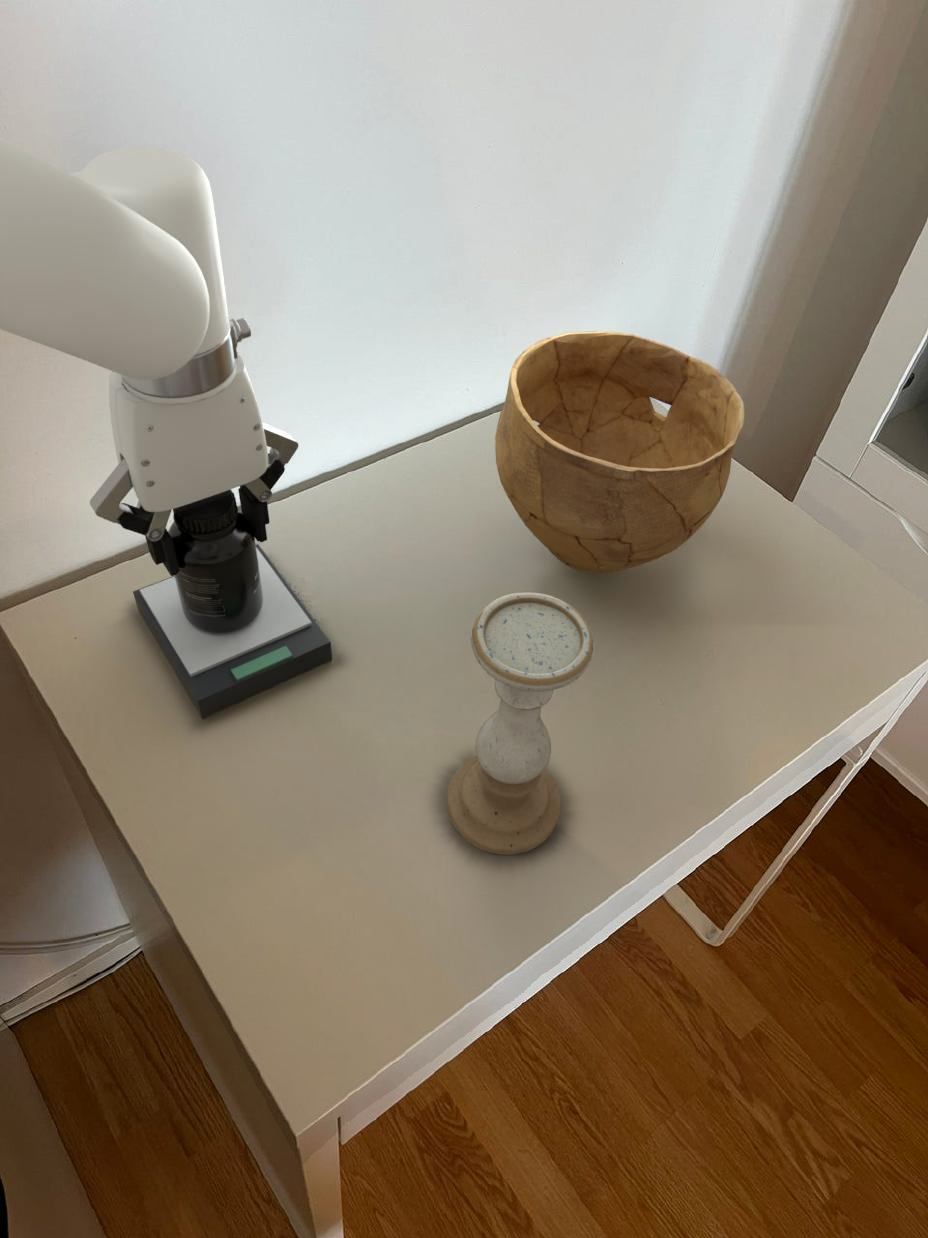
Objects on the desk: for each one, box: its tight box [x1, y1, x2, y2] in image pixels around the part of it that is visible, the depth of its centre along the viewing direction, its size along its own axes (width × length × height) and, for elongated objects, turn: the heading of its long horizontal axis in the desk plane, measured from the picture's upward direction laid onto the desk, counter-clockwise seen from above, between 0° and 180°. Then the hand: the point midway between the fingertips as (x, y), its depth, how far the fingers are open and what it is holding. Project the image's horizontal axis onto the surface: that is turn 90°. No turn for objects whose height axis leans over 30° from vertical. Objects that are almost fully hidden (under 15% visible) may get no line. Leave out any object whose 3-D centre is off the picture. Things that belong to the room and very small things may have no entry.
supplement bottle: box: [167, 489, 263, 633], centre depth 76 cm, size 7×7×12 cm
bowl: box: [494, 330, 745, 575], centre depth 83 cm, size 21×20×20 cm
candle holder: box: [446, 591, 594, 855], centre depth 65 cm, size 9×9×20 cm
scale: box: [132, 543, 333, 720], centre depth 81 cm, size 12×14×3 cm
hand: (212, 546), depth 75 cm, fingers closed on supplement bottle, 6 cm apart
